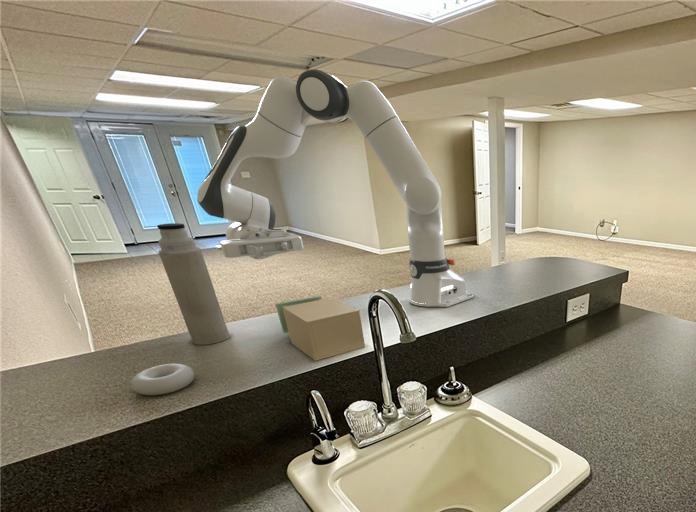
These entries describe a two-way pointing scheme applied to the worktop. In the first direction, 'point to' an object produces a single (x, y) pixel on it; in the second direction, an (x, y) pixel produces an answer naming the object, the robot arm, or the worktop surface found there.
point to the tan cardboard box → (324, 327)
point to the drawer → (289, 303)
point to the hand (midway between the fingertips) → (272, 249)
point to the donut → (162, 379)
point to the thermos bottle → (191, 285)
